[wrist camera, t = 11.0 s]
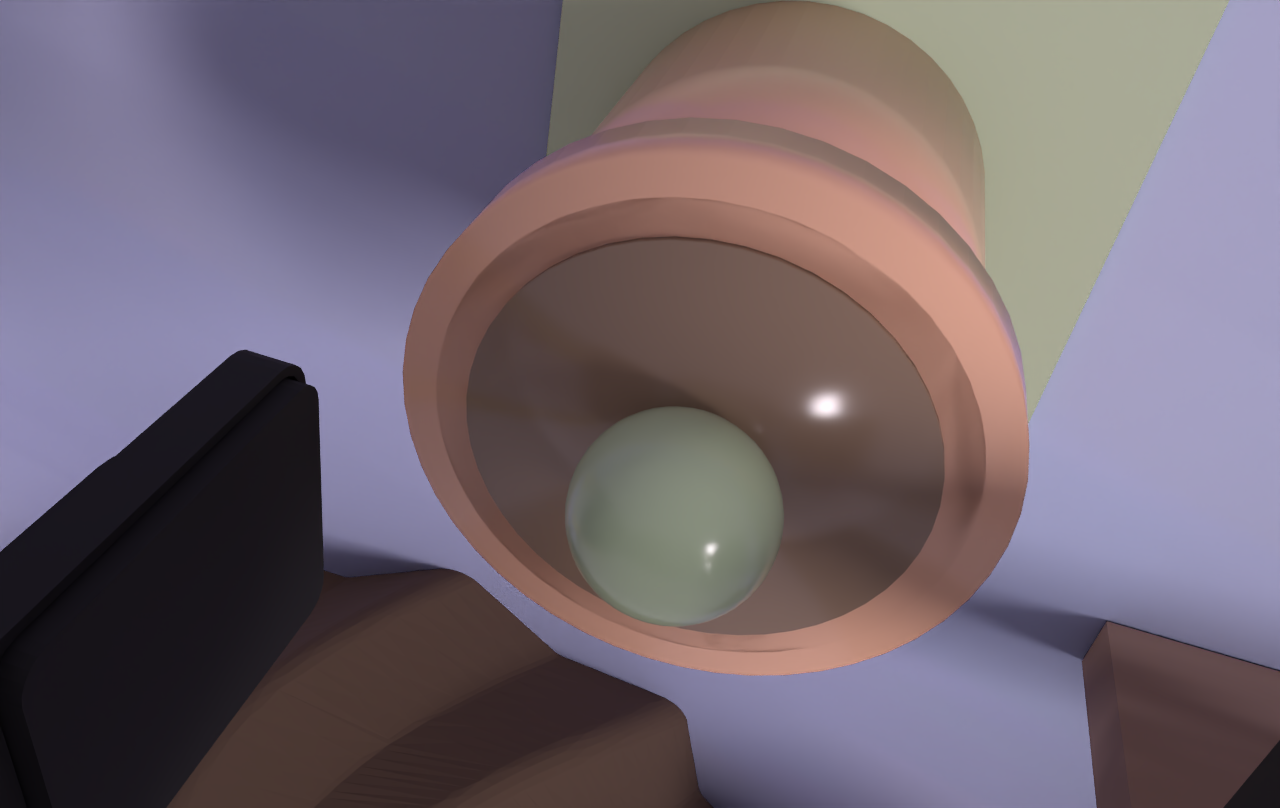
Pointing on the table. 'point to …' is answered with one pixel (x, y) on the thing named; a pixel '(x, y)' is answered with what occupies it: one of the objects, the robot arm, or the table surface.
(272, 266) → the table surface
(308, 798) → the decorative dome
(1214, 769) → the brown wooden corner frame
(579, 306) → the seedling pot
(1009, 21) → the green mat
